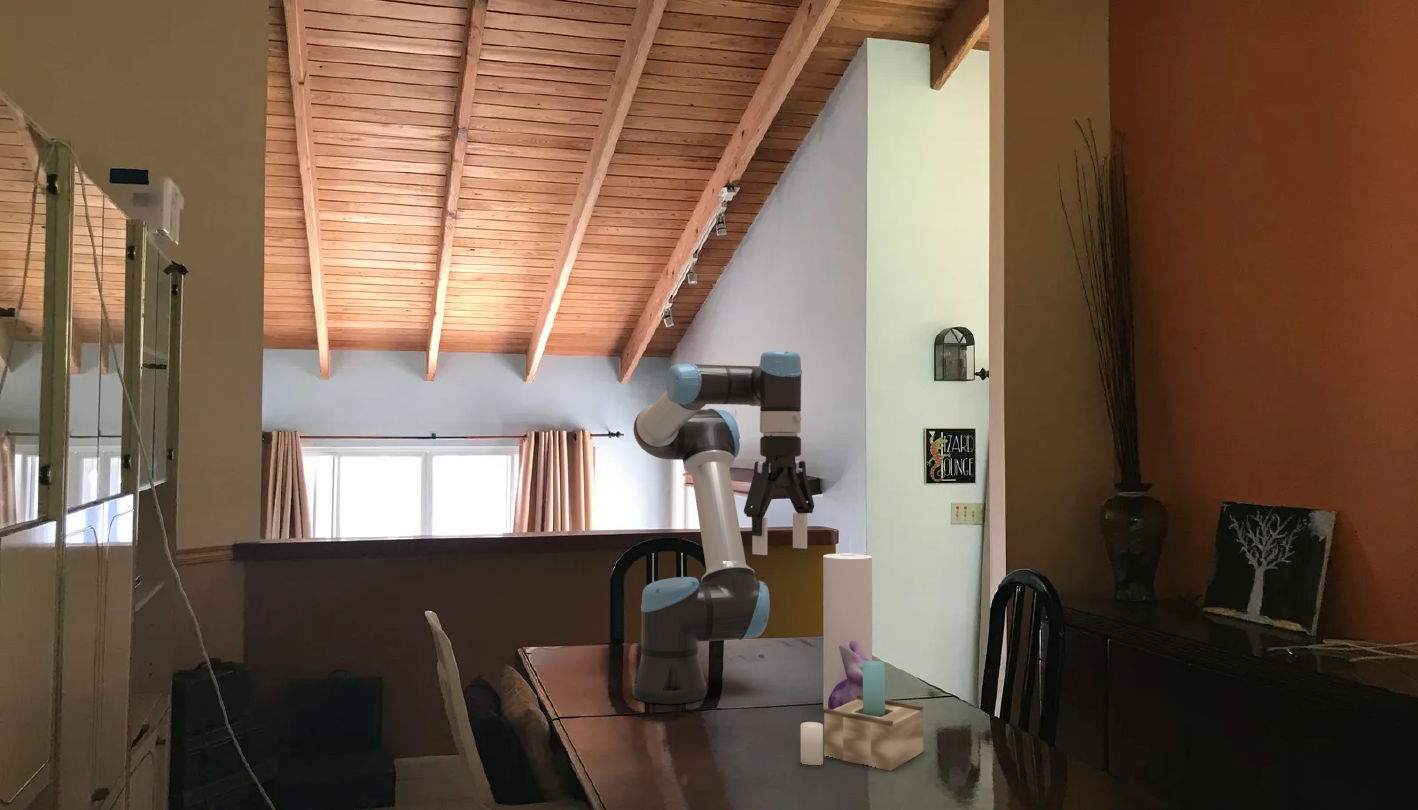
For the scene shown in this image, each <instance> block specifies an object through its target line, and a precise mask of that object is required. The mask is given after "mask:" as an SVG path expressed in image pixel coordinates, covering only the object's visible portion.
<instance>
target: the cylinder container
mask: <svg viewBox="0 0 1418 810" xmlns="http://www.w3.org/2000/svg"><path fill="white" fill-rule="evenodd" d="M822 557H823V558H822V559H823V563H822V566H823V567H822V569H823V571H822V572H823V580H822V581H823V582H822V583H823V584H822V585H823V592H822V593H823V595H822V597H823V600H822V601H823V603H822V605H823V611H822V612H823V614H822V615H823V617H822V619H823V621H822V622H823V624H822V626H823V633H822V635H823V638H822V639H823V644H822V645H823V652H822V653H823V656H822V657H823V658H822V659H823V660H822V661H823V670H822V671H823V672H822V673H823V679H822V681H823V691H822V692H823V693H822V694H823V699H822V700H823V710H824V709H828V700H829V697H830V695H831V693H832V691H833V689H834V688H835V686H836V685H837V684H839V683H840V682H841V681H843V680H845V679H847V676H846V673H845V669H844V665H843V661H842V657H841V653H840V649H839V646H840V645H846V646H847V647H849V643H850V641H851V640H854V641H856V642H857V643H858V644H859V646H860V648H861V649H862V651H863V653H864V655H865V656H866V657H867V658H868V659H869V660H870V661H873V556H872V555H868V554H862V553H861V554H859V553H852V552H841V553H828V554H824V555H823V556H822Z"/></svg>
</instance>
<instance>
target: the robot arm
mask: <svg viewBox="0 0 1418 810" xmlns="http://www.w3.org/2000/svg"><path fill="white" fill-rule="evenodd" d="M759 360H760V362H759V365H727V364H726V365H723V364H721V365H720V364H701V363H700V364H696V363H695V364H694V363H689V362H688V363H683V364H682V363H680V364H679V363H677V364H673V365H671V367H670V368H669V369H668V373H667V375H666V384H665V385H666V389H665V392H663V394H661V396H660V397H659V398H658V399H657V400H656V401H655V403H654V404H650V405H648V406H645V407H644V408H643V409H641V410H640V412H639V413H638V414H637V416H636V417H635V420H634V423H633V428H632V429H633V436H634V439H635V440H636V442H637V444H638V445H639V447H640V448H641V449H642V450H644V452H646V453H647V454H648V455H651V456H653V457H655V458H658V459H661V460H675V461H682V464H683V469H684V470H685V472H686V473H688V474H689V475H691V478H692V484H693V485H692V486H693V490H694V491H693V492H694V496H695V503H696V504H695V505H696V510H697V517H698V523H699V529H700V536H701V542H702V549H703V555H704V563H705V568H706V572H705V573H704V574H703V575H702V577H701V579H700V581H701V582H700V581H699V579H698V578H696V577H694V576H683V577H679V576H677V577H670V578H669V577H668V578H666V579H665V578H664V579H660V580H656V581H654V582H651V583H650V582H649V584H647V585H645V587H644V588H643V590H642V593H641V595H642V596H641V605H640V611H641V640H640V641H641V642H640V643H641V652H640V653H641V657H640V659H639V663H638V665H637V666H638V667H637V670H636V672H635V675H634V676H635V678H634V680H633V682H632V697H633V698H634V699H636V700H638V701H640V702H644V703H649V704H651V703H652V704H659V705H666V704H667V705H675V704H677V705H678V704H687V703H693V702H696V701H700V700H702V699H704V698H705V697H706V696H707V693H708V692H707V681H706V679H705V677H704V673H703V672H704V671H703V668H702V665H701V662H700V658H699V642H714V641H715V642H716V641H731V640H733V641H734V640H738V641H743V640H745V639H755V638H757V637H758V638H759V636H761V635H762V634H763V632H764V631H765V630H766V627H767V624H768V621H769V616H770V608H771V607H770V605H771V604H770V603H771V602H770V599H771V598H770V590H769V588H768V586H767V584H766V582H764V581H761V580H757V578H756V577H757V576H756V573H755V570H754V569H753V568H752V567H750V566H749V565H748V564H747V563H746V556H745V550H744V545H743V540H742V539H743V538H742V534H741V528H740V522H739V515H738V511H737V505H736V498H735V493H734V487H733V484H732V483H733V482H732V477H731V471H730V468H731V467H732V466H733V465H734V463H735V459H736V458H737V457H738V455H739V453H740V449H741V443H740V439H741V436H740V430H739V427H738V423H737V421H736V418H735V416H733V415H732V414H731V412H728V411H727V410H724V409H715V408H706V409H702V408H704V407H705V406H707V405H736V406H737V405H738V406H739V405H740V406H741V405H742V406H744V405H745V406H747V405H748V406H752V407H759V410H760V413H759V432H760V434H762V435H763V436H761V437H760V440H759V451H760V452H759V454H760V456H761V457H765V461H755V462H754V467H753V476H752V480H751V483H750V487H749V489H748V494H747V498H746V500H745V505H744V508H743V513H744V515H745V516H746V517H747V518H751V534H752V536H751V537H752V538H751V540H752V542H751V543H752V555H761V556H767V555H768V517H765V516H766V513H767V511H768V509H769V507H770V504H771V502H772V500H773V497H774V496H775V493H776V490H777V489H779V488H781V487H783V488H784V490H785V491H786V494H787V495H788V497H789V498H788V499H790V502H791V504H792V507H793V509H794V510H795V512H793V513H792V549H795V548H796V549H808V514H813V513H814V509H815V502H814V499H813V494H812V491H811V488H810V483H809V480H808V476H807V469H806V461H805V460H796V458H798V457H800V456H801V455H802V438H801V437H800V436H798V435H799V434H800V433H801V432H802V417H801V416H802V415H801V414H802V413H801V412H802V374H803V370H802V363H801V362H802V361H801V360H802V359H801V356H800V354H799V353H798V352H796V351H792V350H790V351H789V350H769V351H763V352H762V353H761V356H760V359H759ZM700 583H701V584H700Z"/></svg>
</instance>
